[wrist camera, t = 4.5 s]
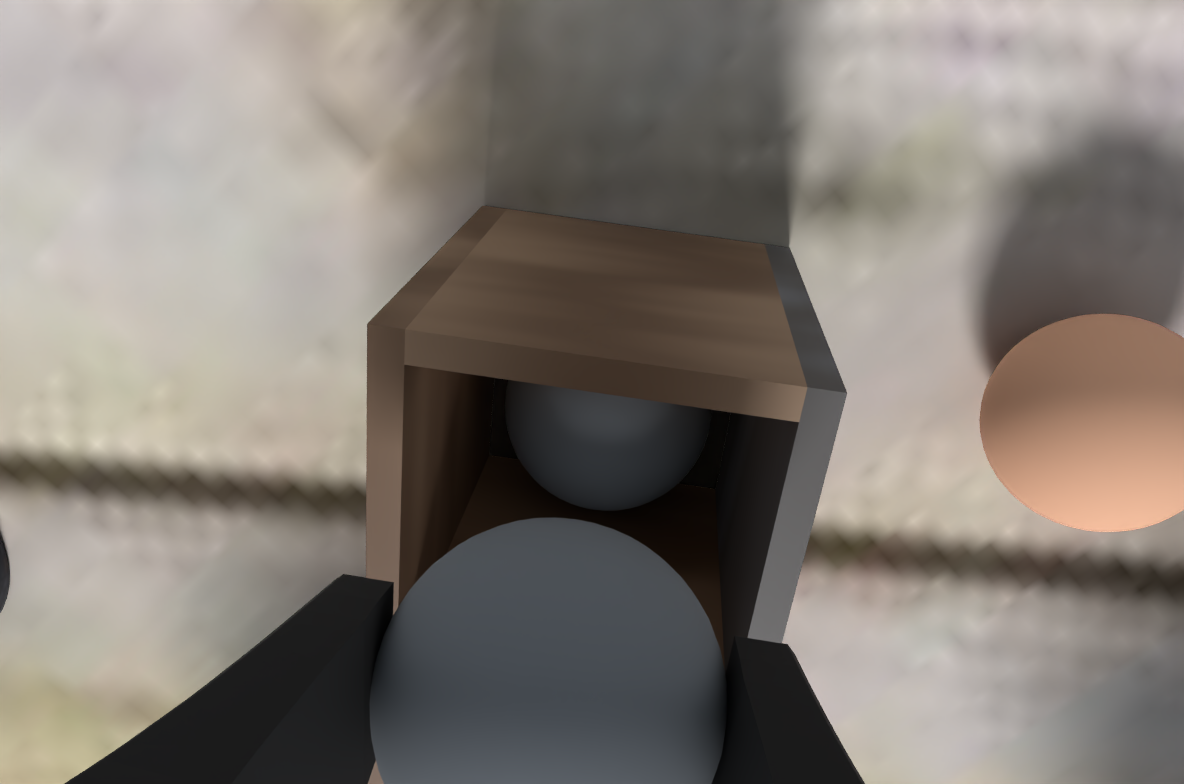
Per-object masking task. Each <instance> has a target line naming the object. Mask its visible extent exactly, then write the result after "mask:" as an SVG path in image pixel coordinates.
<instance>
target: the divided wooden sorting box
mask: <svg viewBox="0 0 1184 784" xmlns="http://www.w3.org/2000/svg"><path fill="white" fill-rule="evenodd" d="M495 378H499V379H506V380H513V381H520V382H527V383H534V384H540V385H547V386H554V387H561V388H568V389H575V390H581V391H588V392H595V393H602V394H609V395H616V396H622V397H629V398H636V399H643V400H650V401H657V402H664V403H670V404H677V405H684V406H691V407H698V408H705V409H711V410H718V411H725V412H731V413H730V418H729V423H728V428H727V433H726V438H725V443H724V448H723V453H722V458H721V463H720V468H719V473H718V478H717V483H716V487H715V489H713V488H706V487H699V486H693V485H686V484H679V483H678V484H677V485H676V486H675V487H674V488H672V489H671V490H670V491H668V492H667V493H665V494H664V495H662V496H660V497H658V498H657V499H655V500H653V501H651V502H649V503H646V504H643V505H641V506H638V507H634V508H630V509H624V510H617V511H602V510H592V509H587V508H583V507H579V506H576V505H573V504H570V503H568V502H566V501H564V500H561V499H559V498H558V497H556V496H554V495H553V494H551V493H549V492H548V491H547V490H546V489H544V488H543V487H542V486H540V485H539V484H538V483H537V482H536V481H535V480H534V479H533V478H532V477H531V475H530V474H529V473H528V472H527V470H526V469H525V468H524V467H523V465H522V464H521V462H520V460H519V459H513V458H506V457H500V456H493V455H489V452H490V438H491V424H492V411H493V397H494V383H495ZM846 395H847V392H846V389H845V387H844V384H843V382H842V379H841V376H840V374H839V371H838V369H837V366H836V364H835V361H834V359H833V356H832V354H831V351H830V349H829V346H828V344H827V341H826V339H825V336H824V333H823V331H822V328H821V326H820V323H819V321H818V318H817V316H816V313H815V311H814V308H813V306H812V303H811V301H810V298H809V296H808V293H807V291H806V288H805V285H804V283H803V280H802V278H801V275H800V273H799V270H798V268H797V265H796V263H795V260H794V258H793V255H792V253H791V250H790V248H788V247H780V246H773V245H766V244H759V243H751V242H744V241H737V240H729V239H722V238H715V237H708V236H700V235H693V234H686V233H678V232H671V231H664V230H657V229H649V228H642V227H635V226H628V225H620V224H613V223H606V222H598V221H591V220H584V219H577V218H569V217H562V216H555V215H547V214H540V213H533V212H526V211H518V210H511V209H504V208H497V207H489V206H482V207H481V208H480V209H479V210H478V211H477V212H476V213H475V214H474V215H473V216H472V217H471V218H470V219H469V220H468V221H467V222H466V223H465V224H464V225H463V226H462V227H461V228H460V229H459V230H458V232H457V233H456V234H455V235H454V236H453V237H452V238H451V239H450V240H449V241H448V242H447V243H446V244H445V245H444V246H443V247H442V248H441V249H440V250H439V251H438V252H437V253H436V254H435V255H434V256H433V257H432V258H431V259H430V260H429V261H428V262H427V263H426V264H425V265H424V266H423V267H422V268H421V269H420V270H419V271H418V272H417V273H416V275H415V276H414V277H413V278H412V279H411V280H410V281H409V282H408V283H407V284H406V285H405V286H404V287H403V288H402V289H401V290H400V291H399V292H398V293H397V294H396V295H395V296H394V297H393V298H392V299H391V300H390V301H389V302H388V303H387V304H386V305H385V306H384V307H383V308H382V309H381V310H380V311H379V312H378V313H377V314H376V315H375V316H374V317H373V319H372V320H371V321H370V322H369V323H368V324H367V486H366V578H370V579H377V580H383V581H389V582H394V599H393V615H394V614H395V612H396V610H397V608H398V606H399V605H400V603H401V602H402V600H403V599H404V597H405V596H406V594H407V593H408V592H409V590H410V589H411V588H412V586H413V585H414V584H415V583H416V582H417V581H418V579H419V578H420V577H421V576H422V575H423V574H424V573H425V572H426V571H427V570H428V569H429V568H430V567H431V566H432V565H433V564H434V563H435V562H436V561H438V560H439V559H440V558H442V557H443V556H444V555H445V554H447V553H448V552H449V551H451V550H452V549H453V548H455V547H456V546H457V545H459V544H461V543H462V542H464V541H466V540H468V539H469V538H471V537H473V536H475V535H478V534H480V533H482V532H485V531H487V530H490V529H492V528H495V527H497V526H500V525H503V524H507V523H511V522H515V521H519V520H526V519H533V518H567V519H576V520H582V521H587V522H592V523H596V524H599V525H602V526H605V527H608V528H612V529H614V530H616V531H619V532H621V533H623V534H625V535H628V536H630V537H632V538H633V539H635V540H637V541H638V542H640V543H642V544H643V545H645V546H647V547H648V548H649V549H651V550H652V551H653V552H654V553H656V554H657V555H658V556H660V557H661V558H662V559H663V560H664V561H665V562H666V563H668V564H669V565H670V566H671V567H672V568H673V569H674V570H675V571H676V572H677V573H678V574H679V575H680V576H681V577H682V579H683V580H684V581H685V583H686V584H687V585H688V586H689V588H690V589H691V590H692V592H693V593H694V595H695V596H696V598H697V599H698V601H699V602H700V604H701V606H702V608H703V609H704V611H705V613H706V615H707V617H708V618H709V621H710V623H711V626H712V629H713V631H714V634H715V637H716V639H717V642H718V645H719V647H720V650H721V654H722V659H723V664H724V669H725V675H726V670H727V666H728V662H729V657H730V653H731V649H732V644H733V640H734V636H738V637H745V638H751V639H757V640H764V641H770V642H776V643H782V640H783V636H784V632H785V628H786V625H787V621H788V617H789V613H790V609H791V605H792V602H793V598H794V594H795V590H796V586H797V583H798V579H799V575H800V571H801V567H802V563H803V560H804V556H805V552H806V548H807V544H808V540H809V537H810V533H811V529H812V525H813V521H814V518H815V514H816V510H817V506H818V502H819V498H820V495H821V491H822V487H823V483H824V479H825V475H826V472H827V468H828V464H829V460H830V456H831V453H832V449H833V445H834V441H835V437H836V433H837V430H838V426H839V422H840V418H841V414H842V410H843V407H844V403H845V399H846ZM368 784H384V783H383V780H382V778H381V775H380V773H379V770H378V766H377V762H376V761H375V764H374V767H373V770H372V773H371V776H370V779H369V782H368Z"/></svg>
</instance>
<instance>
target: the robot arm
mask: <svg viewBox="0 0 1184 784" xmlns="http://www.w3.org/2000/svg"><path fill="white" fill-rule="evenodd" d="M393 599H394V582H389V581H383V580H377V579H370V578H364V577H358V576H351V575H345V574H343V575H342V576H340V577H339V578H337V579H336V580H334V581H333V582H332V583H331V584H330V585H328V586H327V587H326V588H325V589H323V590H322V591H321V592H320V593H319V594H317V595H316V596H315V597H314V598H313V599H312V600H310V601H309V602H308V603H307V604H306V605H304V606H303V607H302V608H301V609H300V610H298V611H297V612H296V613H295V614H294V615H292V616H291V617H290V618H289V619H288V620H286V621H285V622H284V623H283V624H282V625H280V626H279V627H278V628H277V629H276V630H274V631H273V632H272V633H271V634H269V635H268V636H267V637H266V638H265V639H263V640H262V641H261V642H260V643H259V644H257V645H256V646H255V647H254V648H252V649H251V650H250V651H249V652H247V653H246V654H245V655H243V656H242V657H241V658H240V659H238V660H237V661H236V662H235V663H233V664H232V665H231V666H229V667H228V668H227V669H226V670H224V671H223V672H222V673H220V674H219V675H218V676H217V677H215V678H214V679H213V680H212V681H210V682H209V683H208V684H206V685H205V686H204V687H203V688H201V689H200V690H199V691H197V692H196V693H195V694H193V695H192V696H191V697H189V698H188V699H187V700H185V701H184V702H182V703H181V704H180V705H178V706H177V707H175V708H174V709H173V710H171V711H170V712H168V713H167V714H166V715H164V716H163V717H161V718H160V719H159V720H157V721H156V722H155V723H153V724H152V725H150V726H149V727H148V728H146V729H145V730H143V731H142V732H141V733H139V734H138V735H136V736H135V737H134V738H132V739H131V740H129V741H128V742H127V743H125V744H124V745H122V746H121V747H119V748H118V749H116V750H115V751H113V752H112V753H110V754H109V755H107V756H106V757H104V758H103V759H101V760H100V761H98V762H97V763H95V764H94V765H92V766H91V767H89V768H88V769H86V770H85V771H83V772H82V773H80V774H79V775H77V776H76V777H74V778H72V779H71V780H69V781H68V782H66V783H65V784H368V782H369V779H370V776H371V773H372V770H373V767H374V764H375V761H376V758H375V754H374V749H373V744H372V739H371V729H370V705H369V703H370V692H371V683H372V677H373V671H374V666H375V662H376V658H377V655H378V651H379V648H380V645H381V642H382V639H383V637H384V634H385V632H386V630H387V628H388V625H389V623H390V621H391V619H392V617H393ZM726 681H727V722H726V730H725V737H724V743H723V750H722V755H721V758H720V761H719V764H718V767H717V770H716V773H715V776H714V778H713V781H712V783H711V784H865V783H864V781H863V780H862V778H861V776H860V775H859V773H858V771H857V770H856V768H855V766H854V765H853V763H852V761H851V759H850V758H849V756H848V754H847V752H846V751H845V749H844V747H843V745H842V744H841V742H840V740H839V738H838V736H837V735H836V733H835V731H834V729H833V727H832V725H831V724H830V722H829V720H828V718H827V716H826V714H825V713H824V711H823V709H822V707H821V705H820V703H819V701H818V699H817V697H816V696H815V694H814V692H813V690H812V688H811V686H810V684H809V682H808V680H807V678H806V676H805V674H804V672H803V670H802V668H801V666H800V664H799V662H798V660H797V658H796V656H795V654H794V652H793V651H792V650H791V648H790V647H789V646H788V644H783V643H776V642H770V641H764V640H757V639H751V638H745V637H738V636H734V640H733V644H732V649H731V653H730V657H729V662H728V666H727V670H726Z"/></svg>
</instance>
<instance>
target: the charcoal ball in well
mask: <svg viewBox="0 0 1184 784" xmlns="http://www.w3.org/2000/svg"><path fill="white" fill-rule="evenodd" d="M711 412H712V410H711V409H705V408H698V407H691V406H684V405H677V404H670V403H664V402H657V401H650V400H643V399H636V398H629V397H622V396H616V395H609V394H602V393H595V392H588V391H581V390H575V389H568V388H561V387H554V386H547V385H540V384H534V383H527V382H520V381H513V380H509V381H508V384H507V389H506V396H505V419H506V426H507V430H508V434H509V438H510V441H511V444H512V446H513V448H514V451H515V453H516V455H517V457H518V459H519V460H520V462H521V464H522V465H523V467H524V468H525V469H526V470H527V472H528V473H529V474H530V475H531V477H532V478H533V479H534V480H535V481H536V482H537V483H538V484H539V485H540V486H542V487H543V488H544V489H546V490H547V491H548V492H549V493H551V494H553V495H554V496H556V497H558V498H559V499H561V500H564V501H566V502H568V503H570V504H573V505H576V506H579V507H583V508H587V509H592V510H602V511H617V510H624V509H630V508H634V507H638V506H641V505H643V504H646V503H649V502H651V501H653V500H655V499H657V498H658V497H660V496H662V495H664V494H665V493H667V492H668V491H670V490H671V489H672V488H674V487H675V486H676V485H677V484H678V483H679V482H680V481H681V480H682V479H683V478H684V477H685V476H686V475H687V473H688V472H689V471H690V470H691V469H692V467H693V466H694V464H695V463H696V461H697V459H698V458H699V456H700V454H701V451H702V449H703V447H704V445H705V442H706V440H707V436H708V432H709V429H710V421H711Z"/></svg>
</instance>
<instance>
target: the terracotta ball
mask: <svg viewBox="0 0 1184 784" xmlns="http://www.w3.org/2000/svg"><path fill="white" fill-rule="evenodd" d="M980 433H981V438H982V443H983V447H984V451H985V453H986V456H987V459H988V461H989V463H990V465H991V467H992V469H993V470H994V472H995V474H996V476H997V477H998V478H999V480H1000V481H1001V482H1002V483H1003V485H1004V486H1005V487H1006V488H1007V489H1008V491H1009V492H1010V493H1011V494H1012V495H1013V496H1014V497H1016V498H1017V499H1018V500H1019V501H1020V502H1021V503H1023V504H1024V505H1025V506H1027V507H1028V508H1030V509H1031V510H1033V511H1034V512H1036V513H1037V514H1040V515H1042V516H1044V517H1046V518H1048V519H1050V520H1052V521H1054V522H1056V523H1059V524H1062V525H1065V526H1069V527H1073V528H1077V529H1082V530H1087V531H1096V532H1121V531H1129V530H1135V529H1140V528H1144V527H1148V526H1151V525H1154V524H1157V523H1159V522H1162V521H1164V520H1166V519H1169V518H1171V517H1172V516H1174V515H1176V514H1178V513H1180V512H1181V511H1183V510H1184V338H1183V337H1181V336H1180V335H1178V334H1176V333H1175V332H1173V331H1171V330H1169V329H1167V328H1165V327H1163V326H1161V325H1159V324H1156V323H1153V322H1150V321H1148V320H1144V319H1141V318H1137V317H1132V316H1127V315H1118V314H1088V315H1081V316H1075V317H1071V318H1067V319H1064V320H1060V321H1057V322H1055V323H1052V324H1050V325H1047V326H1045V327H1043V328H1041V329H1039V330H1037V331H1035V332H1033V333H1032V334H1030V335H1029V336H1027V337H1026V338H1024V339H1023V340H1021V341H1020V342H1019V343H1018V344H1017V345H1015V346H1014V347H1013V348H1012V349H1011V350H1010V351H1009V352H1008V353H1007V354H1006V355H1005V356H1004V358H1003V359H1002V360H1001V362H1000V363H999V364H998V366H997V367H996V369H995V370H994V372H993V374H992V376H991V377H990V379H989V381H988V384H987V386H986V388H985V391H984V395H983V399H982V403H981V411H980Z"/></svg>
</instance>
